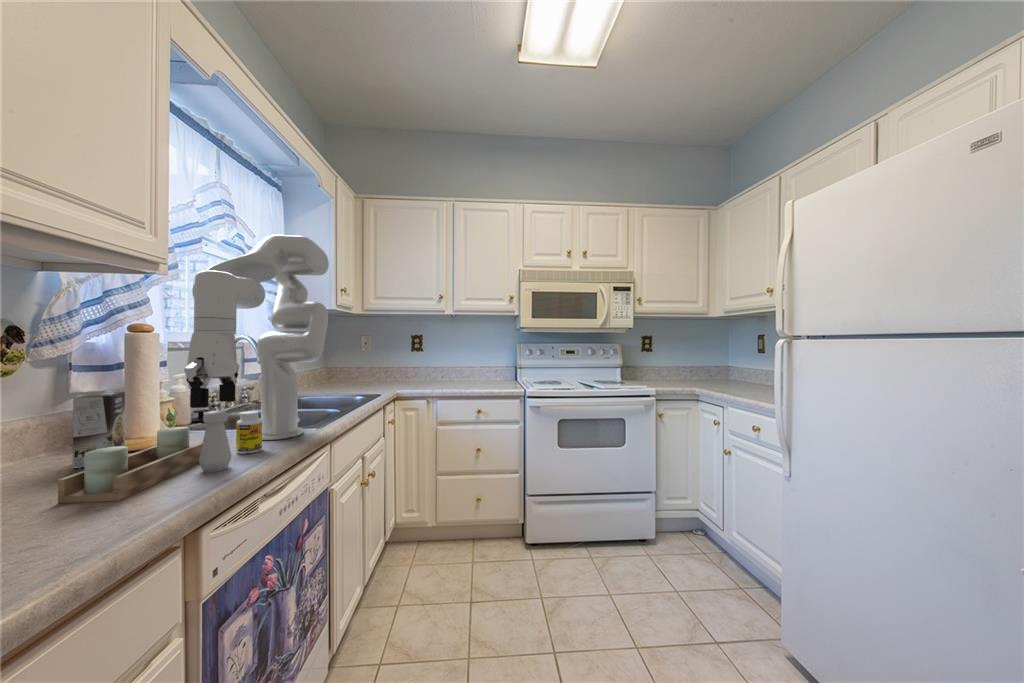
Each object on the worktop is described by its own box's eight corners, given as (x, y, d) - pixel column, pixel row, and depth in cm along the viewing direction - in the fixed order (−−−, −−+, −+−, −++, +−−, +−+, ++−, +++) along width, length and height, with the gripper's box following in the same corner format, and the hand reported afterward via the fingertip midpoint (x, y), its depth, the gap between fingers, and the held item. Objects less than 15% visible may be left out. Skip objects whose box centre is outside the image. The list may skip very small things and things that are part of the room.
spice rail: (161, 461, 92) (161, 426, 92) (206, 459, 93) (206, 425, 93) (58, 503, 68) (58, 457, 68) (119, 500, 69) (119, 455, 69)
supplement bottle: (235, 455, 96) (235, 415, 96) (237, 450, 101) (237, 411, 101) (261, 452, 99) (262, 412, 99) (262, 447, 104) (262, 409, 104)
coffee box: (111, 465, 88) (111, 395, 88) (71, 470, 85) (71, 397, 85) (126, 455, 96) (126, 390, 96) (90, 458, 93) (90, 392, 93)
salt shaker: (238, 465, 89) (238, 409, 89) (216, 474, 83) (216, 414, 83) (214, 464, 89) (214, 408, 89) (191, 473, 83) (192, 413, 83)
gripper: (220, 329, 94) (219, 399, 93) (167, 324, 77) (165, 410, 76) (254, 329, 95) (253, 399, 94) (209, 325, 78) (207, 410, 77)
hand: (214, 404), depth 85 cm, fingers open, 9 cm apart
